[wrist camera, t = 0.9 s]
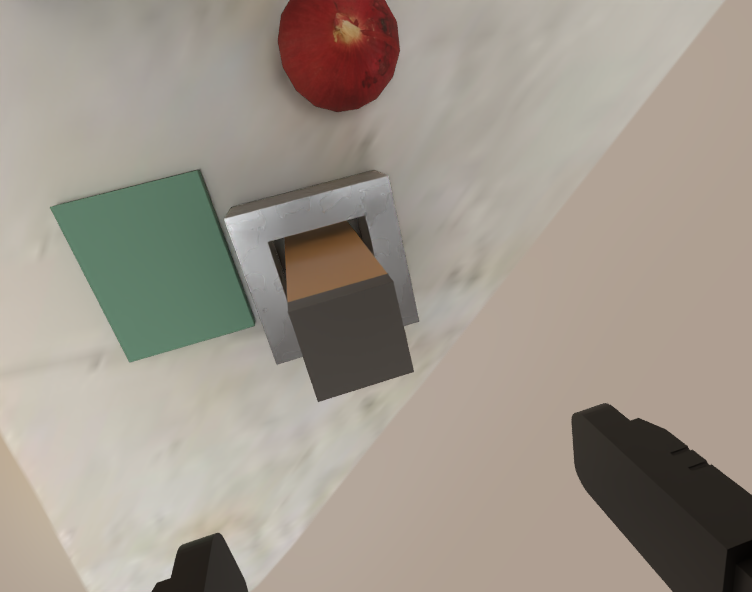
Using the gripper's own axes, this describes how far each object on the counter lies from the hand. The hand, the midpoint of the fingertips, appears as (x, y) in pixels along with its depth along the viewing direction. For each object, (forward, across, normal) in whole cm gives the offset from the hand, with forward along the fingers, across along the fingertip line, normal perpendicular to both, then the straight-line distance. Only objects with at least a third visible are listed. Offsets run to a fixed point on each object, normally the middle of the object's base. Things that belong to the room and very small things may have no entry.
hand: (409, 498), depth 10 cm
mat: (+21, +10, -2) cm, 23 cm away
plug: (+21, 0, 0) cm, 21 cm away
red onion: (+21, -4, -11) cm, 24 cm away
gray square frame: (+21, 0, 0) cm, 21 cm away
